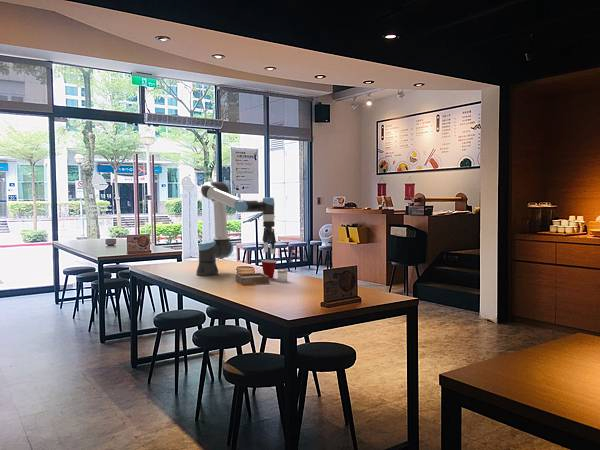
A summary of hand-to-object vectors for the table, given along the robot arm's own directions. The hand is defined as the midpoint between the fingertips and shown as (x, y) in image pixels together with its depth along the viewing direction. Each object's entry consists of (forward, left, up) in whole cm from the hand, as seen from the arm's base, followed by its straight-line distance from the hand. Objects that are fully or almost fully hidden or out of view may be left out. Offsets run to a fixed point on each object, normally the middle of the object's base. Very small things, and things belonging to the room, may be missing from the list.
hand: (269, 253), depth 338 cm
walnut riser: (+11, -15, -17) cm, 25 cm away
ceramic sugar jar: (+15, +4, -17) cm, 23 cm away
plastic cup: (0, 0, -17) cm, 17 cm away
